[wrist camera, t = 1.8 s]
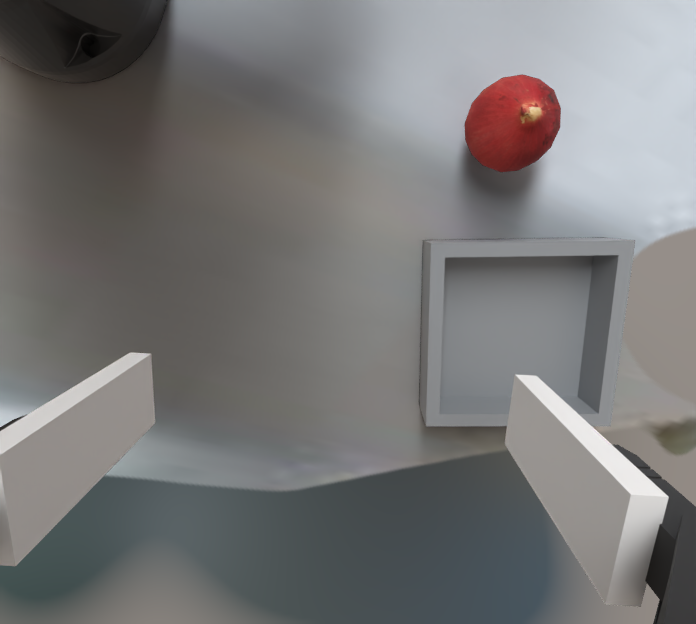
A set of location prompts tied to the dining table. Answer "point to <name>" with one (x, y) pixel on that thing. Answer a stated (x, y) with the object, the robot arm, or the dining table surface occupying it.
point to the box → (521, 324)
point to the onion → (512, 123)
